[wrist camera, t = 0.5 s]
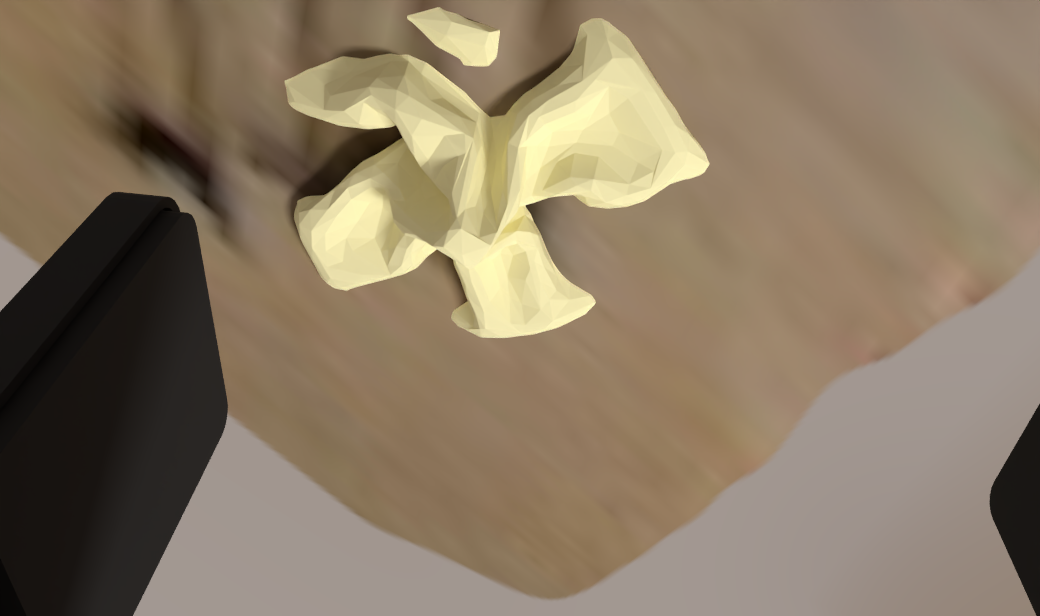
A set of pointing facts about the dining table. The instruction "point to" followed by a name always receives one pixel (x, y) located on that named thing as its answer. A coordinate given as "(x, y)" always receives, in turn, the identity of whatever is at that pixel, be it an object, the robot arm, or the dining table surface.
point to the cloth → (486, 168)
